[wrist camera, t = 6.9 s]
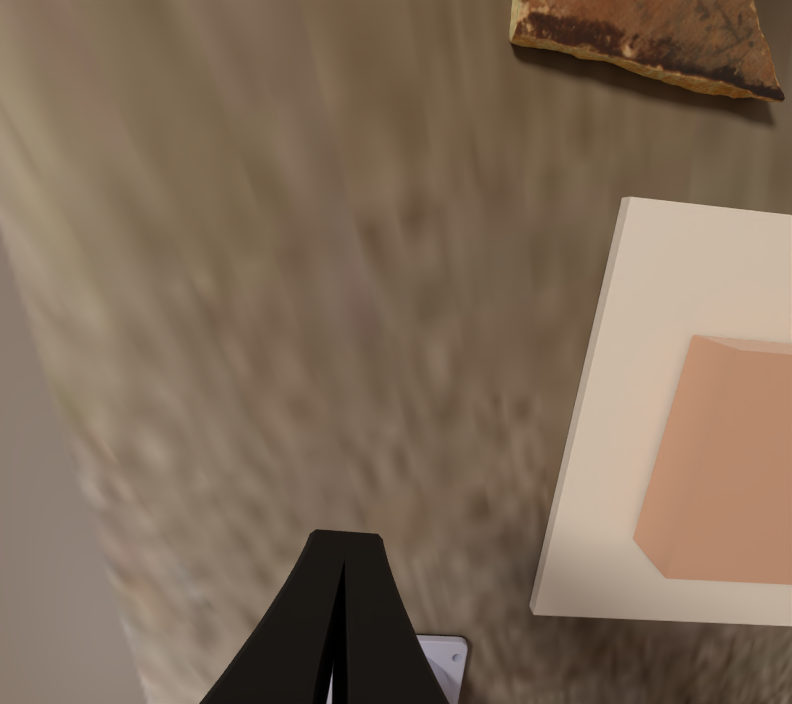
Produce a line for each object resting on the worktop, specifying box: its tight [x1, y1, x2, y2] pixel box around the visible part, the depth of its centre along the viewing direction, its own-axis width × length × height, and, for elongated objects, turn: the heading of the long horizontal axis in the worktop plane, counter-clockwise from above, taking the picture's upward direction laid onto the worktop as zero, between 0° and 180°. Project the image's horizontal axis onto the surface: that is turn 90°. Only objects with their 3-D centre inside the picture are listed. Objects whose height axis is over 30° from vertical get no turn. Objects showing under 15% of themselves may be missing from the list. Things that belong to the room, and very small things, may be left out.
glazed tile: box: [633, 335, 792, 585], centre depth 18 cm, size 10×3×9 cm
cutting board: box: [529, 197, 792, 626], centre depth 20 cm, size 20×16×1 cm
